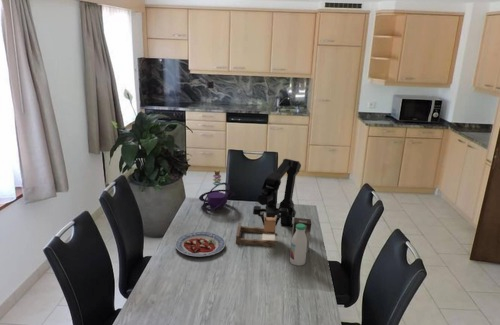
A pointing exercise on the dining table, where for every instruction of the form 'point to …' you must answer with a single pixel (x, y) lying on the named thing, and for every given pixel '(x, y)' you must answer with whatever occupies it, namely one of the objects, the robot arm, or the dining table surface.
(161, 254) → the dining table surface
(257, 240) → the bay
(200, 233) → the ceramic plate
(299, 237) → the milk bottle
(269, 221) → the block
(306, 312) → the dining table surface
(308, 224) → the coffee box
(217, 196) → the decorative bottle
